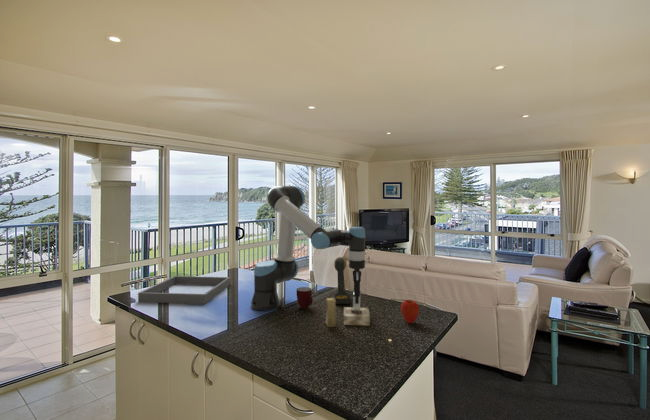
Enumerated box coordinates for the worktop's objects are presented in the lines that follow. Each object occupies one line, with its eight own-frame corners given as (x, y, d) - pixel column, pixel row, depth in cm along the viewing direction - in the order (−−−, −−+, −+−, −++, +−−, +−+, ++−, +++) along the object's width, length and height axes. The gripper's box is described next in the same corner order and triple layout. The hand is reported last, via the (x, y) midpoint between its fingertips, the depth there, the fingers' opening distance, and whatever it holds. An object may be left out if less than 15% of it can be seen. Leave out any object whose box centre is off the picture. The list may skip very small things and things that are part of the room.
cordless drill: (350, 295, 192) (350, 253, 191) (349, 306, 173) (350, 260, 171) (335, 294, 193) (335, 253, 192) (332, 305, 173) (333, 259, 172)
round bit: (353, 318, 152) (353, 293, 151) (352, 316, 155) (353, 291, 155) (360, 318, 152) (360, 293, 151) (359, 316, 155) (360, 291, 155)
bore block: (343, 324, 148) (343, 316, 148) (343, 315, 160) (343, 307, 160) (369, 325, 147) (369, 316, 147) (367, 315, 159) (368, 307, 159)
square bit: (327, 327, 145) (327, 300, 145) (325, 323, 149) (326, 298, 148) (335, 326, 146) (335, 300, 145) (333, 323, 149) (333, 297, 149)
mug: (318, 308, 169) (318, 289, 168) (307, 312, 163) (307, 293, 162) (303, 304, 176) (304, 286, 175) (293, 307, 170) (293, 289, 169)
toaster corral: (138, 301, 177) (138, 293, 177) (174, 283, 215) (174, 275, 215) (205, 303, 175) (205, 294, 174) (230, 284, 212) (230, 277, 212)
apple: (396, 320, 153) (396, 298, 153) (411, 318, 156) (411, 296, 156) (407, 327, 145) (408, 304, 145) (422, 324, 149) (423, 301, 148)
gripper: (366, 263, 144) (365, 314, 145) (363, 256, 160) (363, 302, 161) (349, 262, 144) (348, 314, 145) (348, 256, 161) (348, 302, 162)
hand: (356, 308), depth 153 cm, fingers closed on round bit, 3 cm apart
